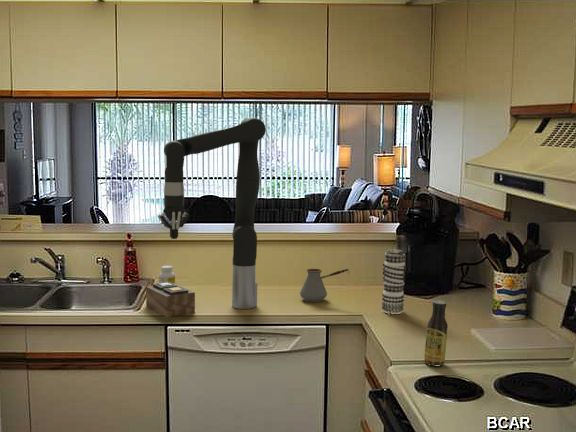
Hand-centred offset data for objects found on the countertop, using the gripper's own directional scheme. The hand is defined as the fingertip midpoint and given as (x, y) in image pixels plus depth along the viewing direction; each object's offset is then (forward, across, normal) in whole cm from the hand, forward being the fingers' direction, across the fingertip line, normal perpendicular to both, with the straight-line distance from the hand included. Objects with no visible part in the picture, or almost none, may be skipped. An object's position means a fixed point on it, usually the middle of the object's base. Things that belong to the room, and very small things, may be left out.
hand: (174, 238), depth 257 cm
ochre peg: (+27, -1, -2) cm, 27 cm away
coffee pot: (+29, +59, -20) cm, 69 cm away
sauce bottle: (+29, +39, -97) cm, 109 cm away
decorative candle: (+29, +72, -48) cm, 91 cm away
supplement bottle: (+29, +8, +21) cm, 36 cm away
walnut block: (+28, -1, +2) cm, 28 cm away
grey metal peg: (+27, 0, +7) cm, 28 cm away
